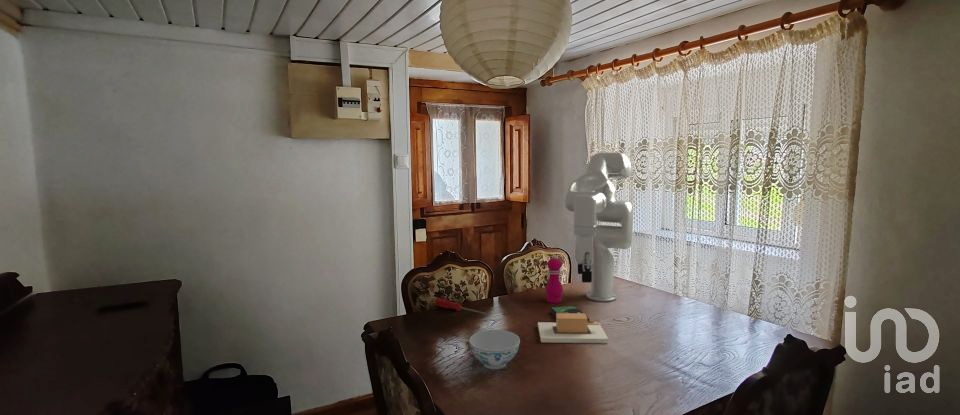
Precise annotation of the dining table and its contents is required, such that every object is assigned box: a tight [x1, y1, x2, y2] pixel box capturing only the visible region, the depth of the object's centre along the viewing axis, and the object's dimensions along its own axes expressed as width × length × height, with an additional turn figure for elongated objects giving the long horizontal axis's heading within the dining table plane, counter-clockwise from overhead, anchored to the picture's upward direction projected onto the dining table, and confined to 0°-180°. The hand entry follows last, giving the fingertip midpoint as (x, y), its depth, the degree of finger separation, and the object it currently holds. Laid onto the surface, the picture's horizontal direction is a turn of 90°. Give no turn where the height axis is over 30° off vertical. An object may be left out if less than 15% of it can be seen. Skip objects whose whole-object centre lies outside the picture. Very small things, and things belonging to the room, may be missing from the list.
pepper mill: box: [545, 254, 564, 304], centre depth 189 cm, size 7×7×20 cm
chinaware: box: [468, 329, 521, 370], centre depth 133 cm, size 15×15×8 cm
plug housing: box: [555, 312, 600, 333], centre depth 154 cm, size 5×14×5 cm, turn 87°
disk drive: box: [550, 305, 590, 321], centre depth 170 cm, size 10×3×15 cm
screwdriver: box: [434, 297, 487, 315], centre depth 179 cm, size 4×25×4 cm, turn 54°
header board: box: [537, 321, 609, 344], centre depth 155 cm, size 14×22×4 cm, turn 87°
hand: (584, 277), depth 157 cm, fingers open, 9 cm apart
